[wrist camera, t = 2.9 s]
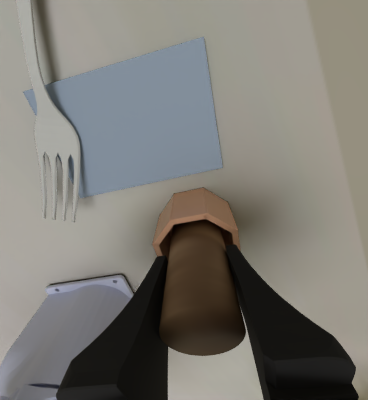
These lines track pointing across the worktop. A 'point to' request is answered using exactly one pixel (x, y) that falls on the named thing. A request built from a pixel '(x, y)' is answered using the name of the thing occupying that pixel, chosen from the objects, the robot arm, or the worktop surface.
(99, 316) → the robot arm
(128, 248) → the worktop surface
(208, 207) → the cup
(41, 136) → the fork
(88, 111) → the mat
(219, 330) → the peg
